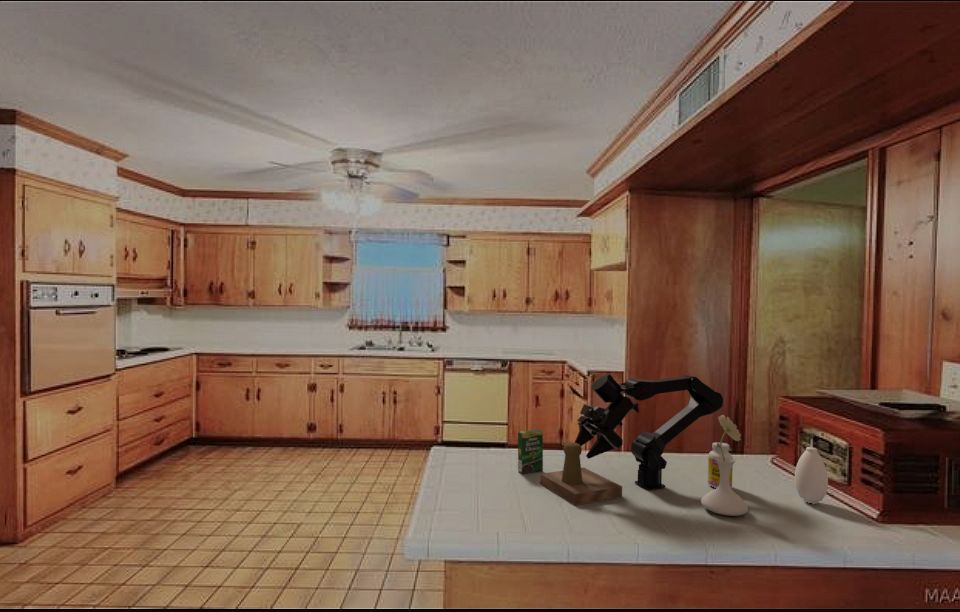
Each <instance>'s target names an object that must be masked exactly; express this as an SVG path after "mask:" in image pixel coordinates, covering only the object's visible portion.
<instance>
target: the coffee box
mask: <svg viewBox="0 0 960 612" xmlns="http://www.w3.org/2000/svg"><path fill="white" fill-rule="evenodd" d="M543 435H544V431H543V430H540V429H533V430H525V431H524V430H523V431H517V471H519V472H518V473H520V474H521V473H522V474H529V473H537V472H543V471H544V458H543V457H544V452H543V451H544V446H543V445H544V443H543V442H544V441H543V439H544V437H543Z"/></svg>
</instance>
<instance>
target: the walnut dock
mask: <svg viewBox="0 0 960 612" xmlns="http://www.w3.org/2000/svg"><path fill="white" fill-rule="evenodd" d="M581 472H582V481H583V483H582V484H579V485H570V484H565V483H563V482H562V474H563V470H558V471H557V470H556V471H550V472H543V473H540V475H539V484H540V485H541V486H542V487H545V488H546V489H548V490H550V491H551V492H553V493H555V494H556V495H558V496H559V497H561V498H562V499H564V500H566V501H567V502H569V503H571V504H572V505H574V506H580V505H583V504H590V503H595V502H601V500H602V501H606V500H605V499H607V500H611V499H612V498H613V499H617V497H618V498H622V497H623V485H621V484H618V483H616V482H614V481H613V480H612V479H611V480H610V479H608V478H606V477H604V476H602V475H600V474H598V473H596V472H594V471H592V470H590V469H588V468H586V467H581ZM613 499H612V500H613Z"/></svg>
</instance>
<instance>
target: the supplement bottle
mask: <svg viewBox="0 0 960 612" xmlns="http://www.w3.org/2000/svg"><path fill="white" fill-rule="evenodd" d="M717 442H718V441H716V442H712V450H710V452H709V453H708V462H707V463H708V464H707V485H708V486H709V485H710V486H712V487H714V488H713V489H715V488H717V487H718V486H719V484H720V470H719V465H718V463H717V461H716V460H715V457H723V456H722V452H721V449H720V448H719V447H717V446H716V445H717ZM718 443H719V444H720V442H718ZM721 445H722V451H723V452H725V451H728V450H730V449H731V447H730V445H729V443H726V442H725V443H724V442H722V444H721ZM723 454H724V457H728V458H732V459H734V458H733V455H732V454H731V453H730V451H728V452H726V453H723ZM733 465H734V464H733ZM733 465H732V467H731V470H730V477H729V484H730V487H731V489H732V488H733V471H734V470H733V467H734V466H733ZM710 486H709V487H710ZM712 487H711V488H712Z"/></svg>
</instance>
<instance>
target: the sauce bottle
mask: <svg viewBox="0 0 960 612" xmlns="http://www.w3.org/2000/svg"><path fill="white" fill-rule="evenodd" d="M813 443H814V441H813V438H811V439H810V446H807V447H806V448H805V451H804V452H803V453H802V454H801V455H800V457H799V460H798V461H797V464H796V466H795V470H794V472H795V473H794V485H795V489H796V491H797V494H798V495H799V497H800V498H801V499H803V501H804V502H806V503H807V502H808V503H807V504H809V503H814V504H813V505H816V504H819V502H822V501H823V500H824V498H825V496H826V495H827V492H828V488H829V476H828V472H827V469H826V465H825V462H824V460H823V458H822V457H821V455H820V454H819V452H818V449H817V448H816V447H813V446H814V444H813Z"/></svg>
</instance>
